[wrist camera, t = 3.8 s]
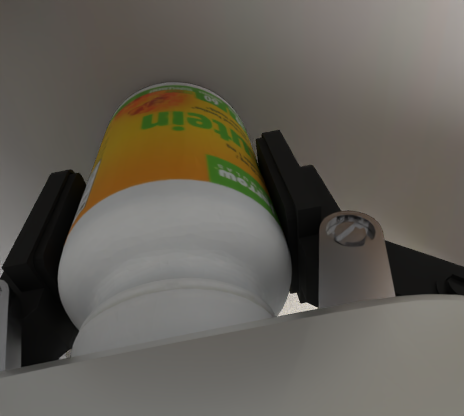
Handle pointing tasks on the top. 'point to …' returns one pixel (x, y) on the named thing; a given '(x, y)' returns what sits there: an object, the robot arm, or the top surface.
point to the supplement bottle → (172, 226)
